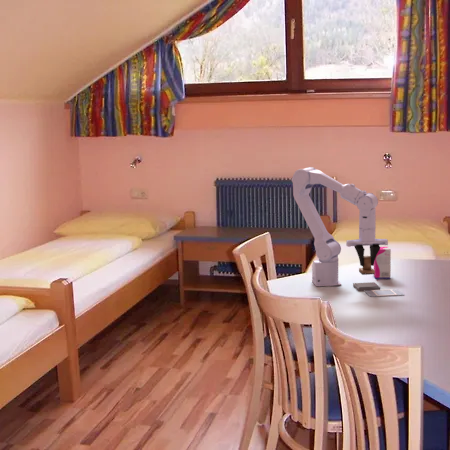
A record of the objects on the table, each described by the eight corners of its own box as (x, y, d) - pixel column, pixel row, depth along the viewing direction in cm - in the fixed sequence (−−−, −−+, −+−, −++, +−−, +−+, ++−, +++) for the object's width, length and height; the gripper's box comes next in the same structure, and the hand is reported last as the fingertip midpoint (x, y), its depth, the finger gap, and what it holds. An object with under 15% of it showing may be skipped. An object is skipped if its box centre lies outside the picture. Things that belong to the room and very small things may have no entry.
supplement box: (388, 275, 266) (388, 246, 265) (390, 279, 261) (391, 249, 259) (373, 275, 267) (373, 246, 265) (374, 279, 261) (375, 249, 259)
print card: (370, 296, 237) (370, 295, 237) (364, 291, 244) (364, 290, 244) (404, 295, 238) (404, 294, 238) (397, 290, 245) (397, 289, 245)
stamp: (362, 274, 246) (362, 258, 245) (359, 271, 250) (359, 255, 249) (374, 274, 246) (374, 257, 245) (371, 271, 250) (371, 255, 249)
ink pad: (358, 291, 245) (358, 287, 245) (353, 286, 252) (353, 282, 252) (380, 290, 246) (380, 286, 246) (374, 285, 253) (374, 281, 252)
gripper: (350, 230, 241) (349, 268, 243) (390, 229, 242) (390, 267, 244) (345, 227, 248) (344, 264, 250) (384, 225, 249) (384, 262, 251)
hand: (366, 265), depth 247 cm, fingers closed on stamp, 3 cm apart
